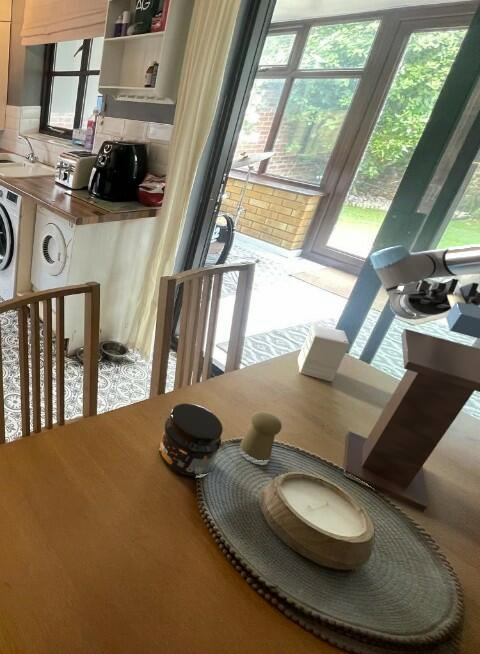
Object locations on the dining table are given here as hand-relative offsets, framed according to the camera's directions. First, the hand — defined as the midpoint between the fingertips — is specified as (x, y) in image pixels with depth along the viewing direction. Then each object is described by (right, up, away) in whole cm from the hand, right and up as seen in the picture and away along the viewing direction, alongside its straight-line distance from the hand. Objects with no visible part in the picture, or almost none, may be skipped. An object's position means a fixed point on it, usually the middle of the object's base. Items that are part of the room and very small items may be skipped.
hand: (463, 287), depth 81 cm
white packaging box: (0, -25, +35) cm, 43 cm away
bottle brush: (-2, -4, 0) cm, 5 cm away
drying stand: (-10, -39, +6) cm, 41 cm away
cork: (-35, -38, +10) cm, 52 cm away
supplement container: (-51, -38, +9) cm, 64 cm away
